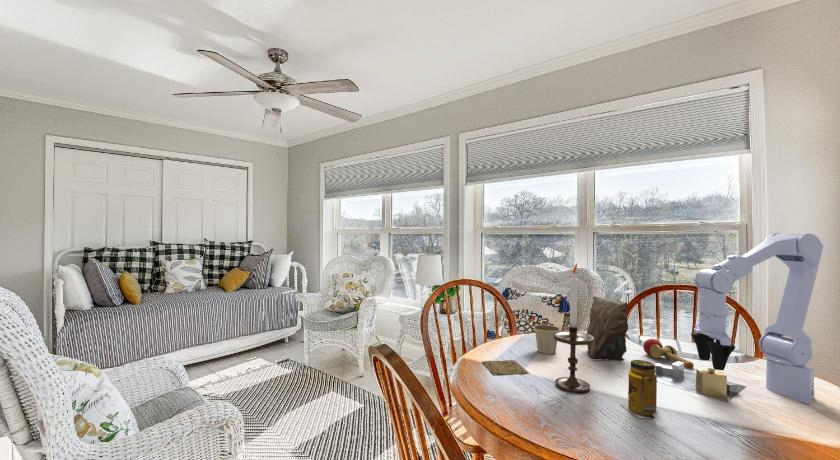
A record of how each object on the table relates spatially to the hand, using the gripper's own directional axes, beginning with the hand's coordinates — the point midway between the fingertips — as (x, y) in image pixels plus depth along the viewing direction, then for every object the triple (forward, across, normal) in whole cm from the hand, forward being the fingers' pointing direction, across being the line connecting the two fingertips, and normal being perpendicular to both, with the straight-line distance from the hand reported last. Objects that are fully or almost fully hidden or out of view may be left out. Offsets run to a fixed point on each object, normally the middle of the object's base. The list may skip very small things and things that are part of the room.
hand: (711, 364), depth 105 cm
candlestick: (+9, +3, -36) cm, 37 cm away
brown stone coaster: (+9, -8, -54) cm, 56 cm away
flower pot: (+9, -28, -40) cm, 49 cm away
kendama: (+9, -28, 0) cm, 29 cm away
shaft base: (+8, -8, -1) cm, 11 cm away
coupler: (+8, 0, 0) cm, 8 cm away
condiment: (+9, +14, -20) cm, 26 cm away
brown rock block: (+9, -28, -21) cm, 36 cm away
